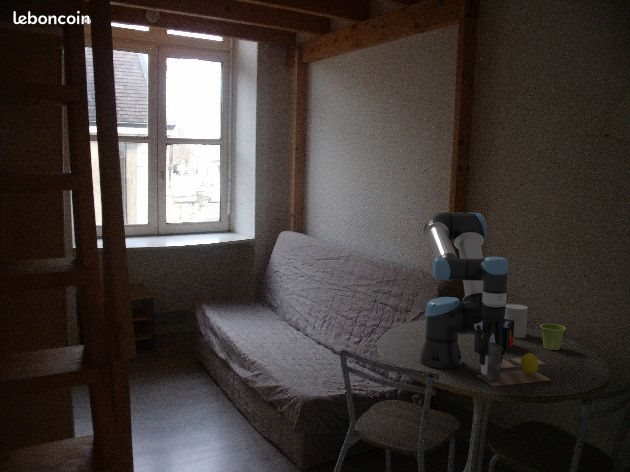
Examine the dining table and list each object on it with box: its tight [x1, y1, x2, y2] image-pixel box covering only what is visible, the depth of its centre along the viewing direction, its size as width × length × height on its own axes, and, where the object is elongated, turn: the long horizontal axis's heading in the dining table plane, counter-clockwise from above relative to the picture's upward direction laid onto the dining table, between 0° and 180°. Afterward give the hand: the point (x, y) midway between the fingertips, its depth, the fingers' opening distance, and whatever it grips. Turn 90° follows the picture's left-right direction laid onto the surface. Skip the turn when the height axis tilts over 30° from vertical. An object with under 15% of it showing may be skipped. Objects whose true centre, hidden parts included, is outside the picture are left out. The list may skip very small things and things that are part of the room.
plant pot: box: [539, 323, 567, 351], centre depth 229 cm, size 9×9×9 cm
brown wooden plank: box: [500, 357, 547, 370], centre depth 211 cm, size 22×8×1 cm, turn 106°
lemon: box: [520, 352, 539, 376], centre depth 197 cm, size 6×6×8 cm
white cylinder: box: [504, 303, 529, 339], centre depth 247 cm, size 10×10×12 cm
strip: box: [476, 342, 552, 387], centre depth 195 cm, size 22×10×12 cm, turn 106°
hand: (490, 372), depth 193 cm, fingers closed on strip, 4 cm apart
